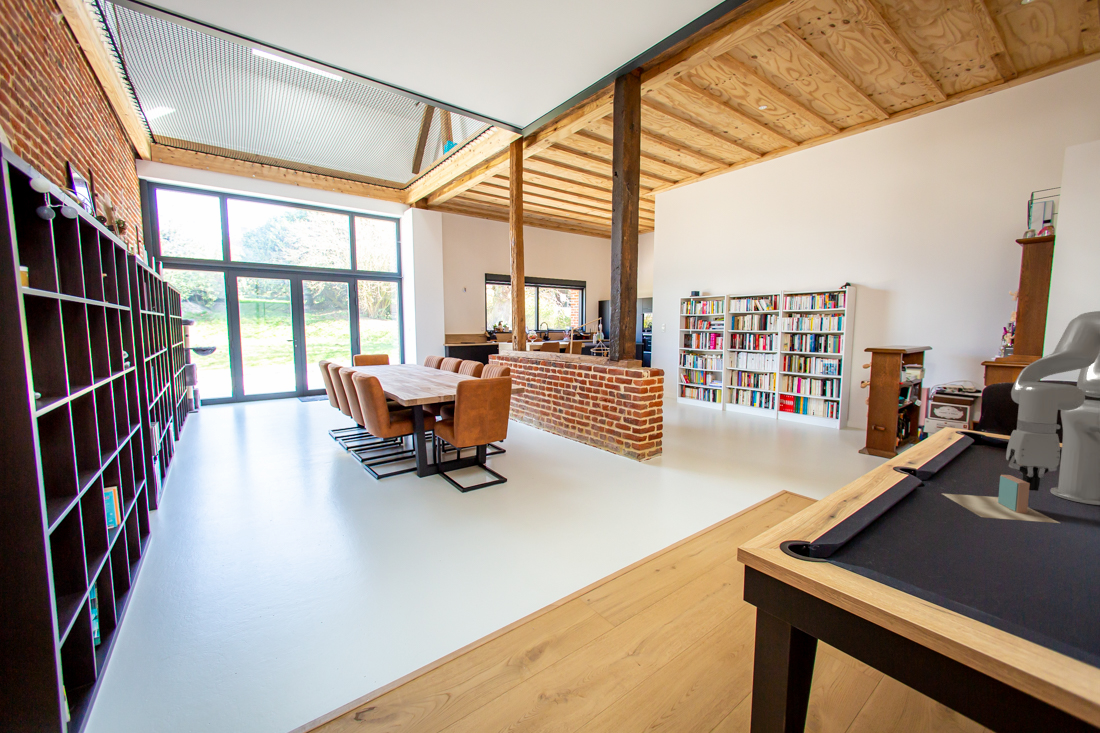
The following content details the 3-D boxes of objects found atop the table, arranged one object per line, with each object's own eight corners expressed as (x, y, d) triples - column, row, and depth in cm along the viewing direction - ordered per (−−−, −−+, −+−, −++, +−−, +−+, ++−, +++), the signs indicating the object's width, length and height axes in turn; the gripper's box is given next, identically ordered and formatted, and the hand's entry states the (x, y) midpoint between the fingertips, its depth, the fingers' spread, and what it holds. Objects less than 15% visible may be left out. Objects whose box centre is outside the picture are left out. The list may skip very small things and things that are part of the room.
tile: (1007, 503, 132) (1010, 475, 131) (1027, 513, 125) (1029, 483, 124) (997, 503, 132) (999, 474, 131) (1015, 512, 125) (1018, 482, 125)
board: (1008, 500, 136) (1008, 497, 136) (1060, 526, 119) (1060, 523, 119) (940, 496, 140) (941, 493, 140) (981, 520, 123) (981, 517, 123)
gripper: (1056, 426, 127) (1050, 486, 129) (995, 423, 131) (989, 482, 132) (1080, 431, 120) (1074, 495, 122) (1015, 429, 123) (1009, 491, 125)
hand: (1030, 488), depth 127 cm, fingers closed
